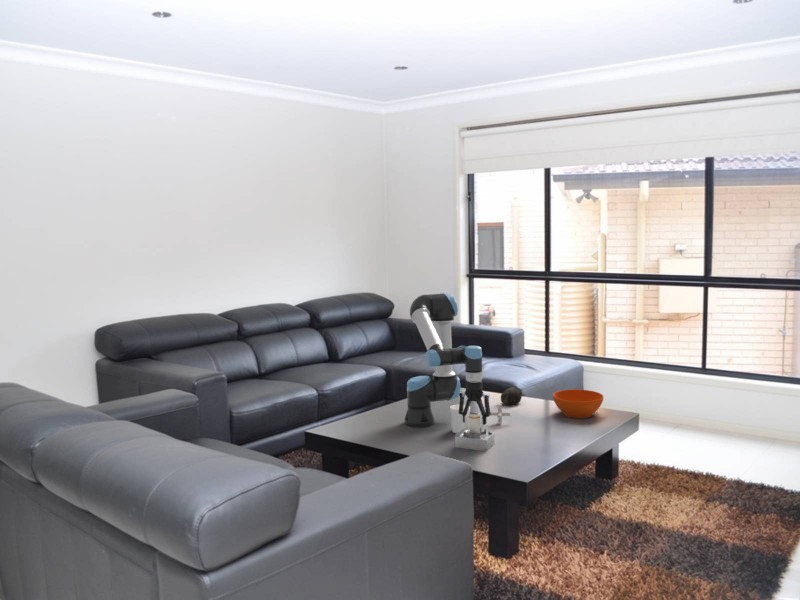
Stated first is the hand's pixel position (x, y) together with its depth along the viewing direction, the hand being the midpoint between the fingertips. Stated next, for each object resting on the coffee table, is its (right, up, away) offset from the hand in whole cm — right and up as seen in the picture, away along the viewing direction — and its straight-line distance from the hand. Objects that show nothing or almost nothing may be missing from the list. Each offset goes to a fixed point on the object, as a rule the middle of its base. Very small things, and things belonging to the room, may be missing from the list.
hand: (474, 430), depth 326 cm
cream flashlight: (0, -2, 0) cm, 2 cm away
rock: (+27, +2, +69) cm, 75 cm away
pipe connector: (+16, -3, +33) cm, 37 cm away
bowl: (+58, 0, +46) cm, 74 cm away
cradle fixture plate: (0, -7, +1) cm, 7 cm away
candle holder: (-4, -5, +23) cm, 24 cm away
